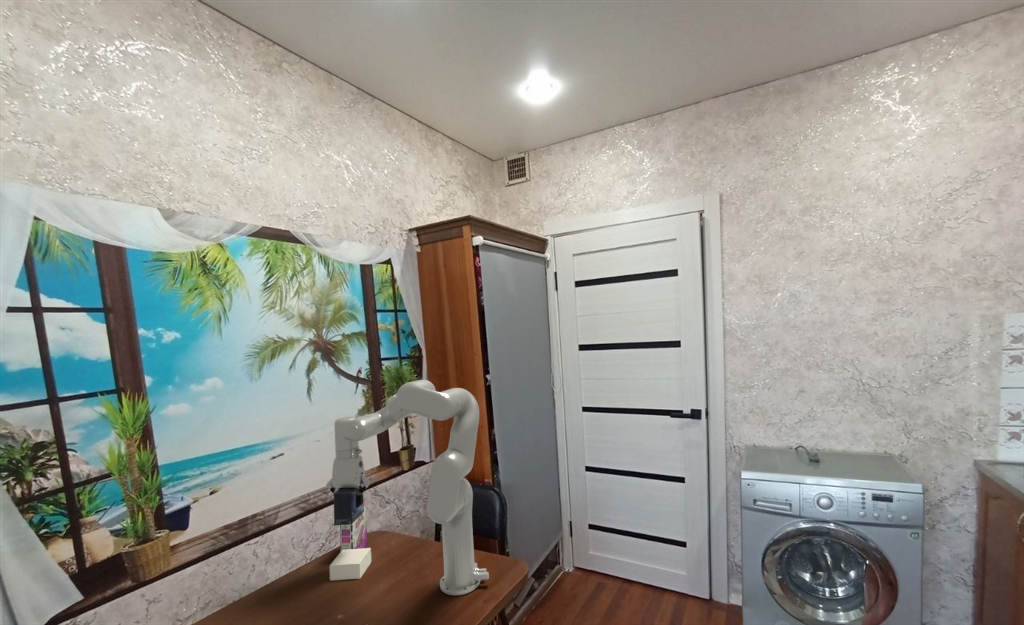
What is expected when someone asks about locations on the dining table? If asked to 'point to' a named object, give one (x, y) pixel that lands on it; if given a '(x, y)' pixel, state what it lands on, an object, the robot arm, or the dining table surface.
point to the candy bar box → (354, 533)
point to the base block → (350, 564)
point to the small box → (346, 506)
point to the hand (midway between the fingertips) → (349, 505)
